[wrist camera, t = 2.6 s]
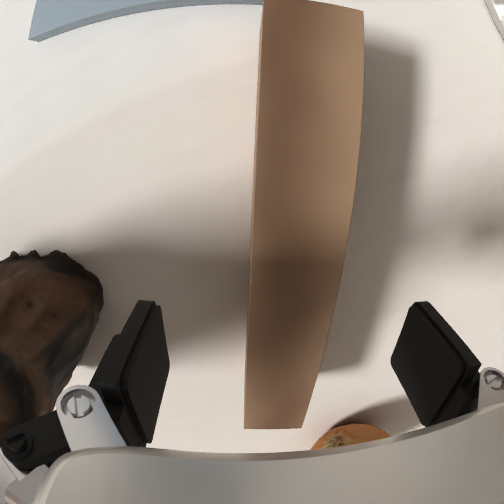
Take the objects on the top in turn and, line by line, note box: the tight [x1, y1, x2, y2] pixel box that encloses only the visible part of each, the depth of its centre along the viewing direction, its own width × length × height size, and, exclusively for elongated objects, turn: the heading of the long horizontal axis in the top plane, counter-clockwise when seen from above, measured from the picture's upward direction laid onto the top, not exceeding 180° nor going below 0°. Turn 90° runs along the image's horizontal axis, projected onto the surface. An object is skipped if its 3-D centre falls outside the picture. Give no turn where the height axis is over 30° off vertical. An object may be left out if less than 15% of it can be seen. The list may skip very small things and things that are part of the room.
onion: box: [310, 423, 390, 450], centre depth 22 cm, size 10×10×10 cm
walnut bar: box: [244, 0, 364, 429], centre depth 15 cm, size 4×24×6 cm, turn 178°
